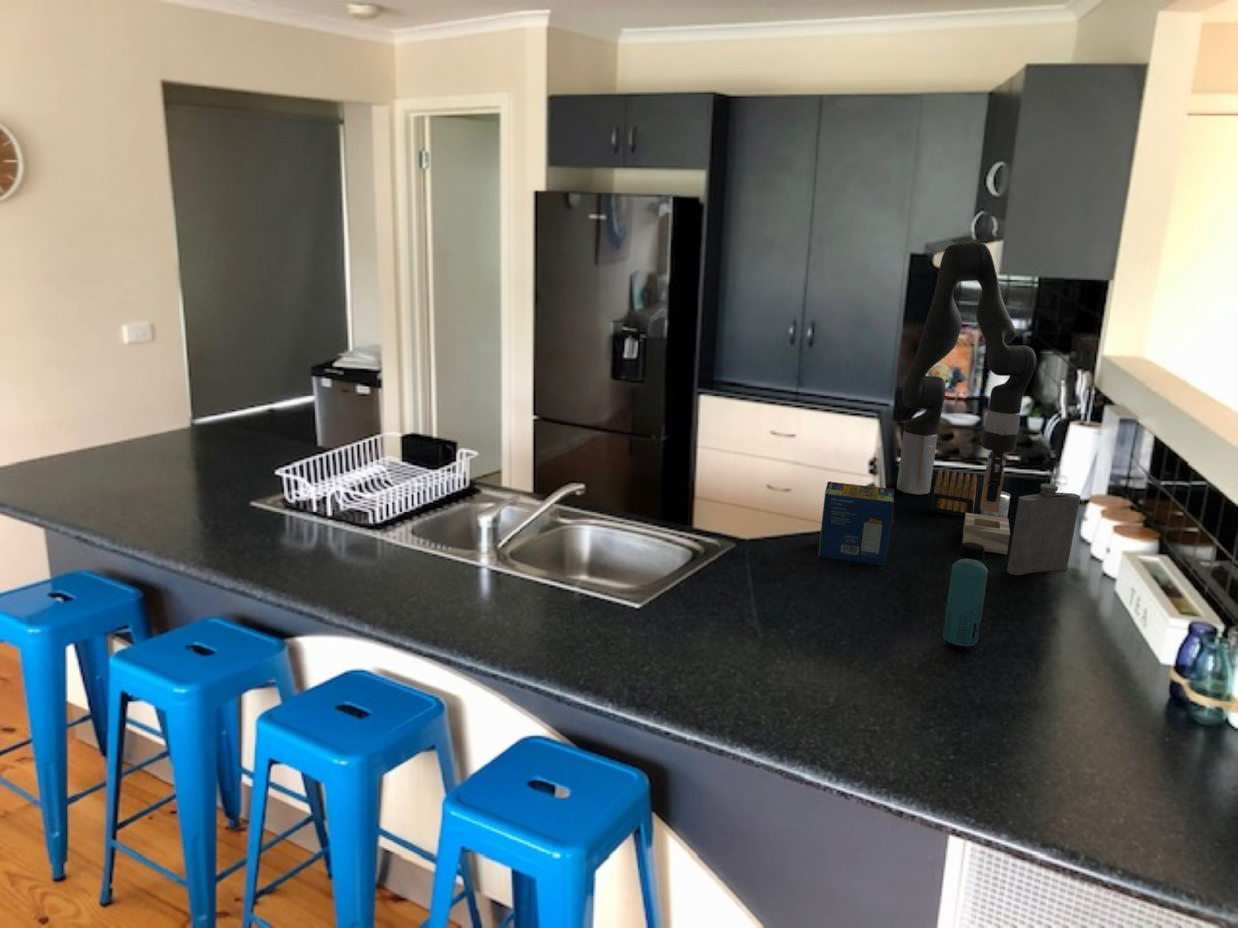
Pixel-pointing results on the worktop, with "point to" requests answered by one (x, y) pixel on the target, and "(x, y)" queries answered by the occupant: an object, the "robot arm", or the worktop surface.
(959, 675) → the worktop surface
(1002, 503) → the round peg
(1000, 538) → the socket block
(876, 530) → the protein box
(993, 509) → the square peg
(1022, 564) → the hip flask
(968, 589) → the beverage bottle
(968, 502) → the ammunition clip
